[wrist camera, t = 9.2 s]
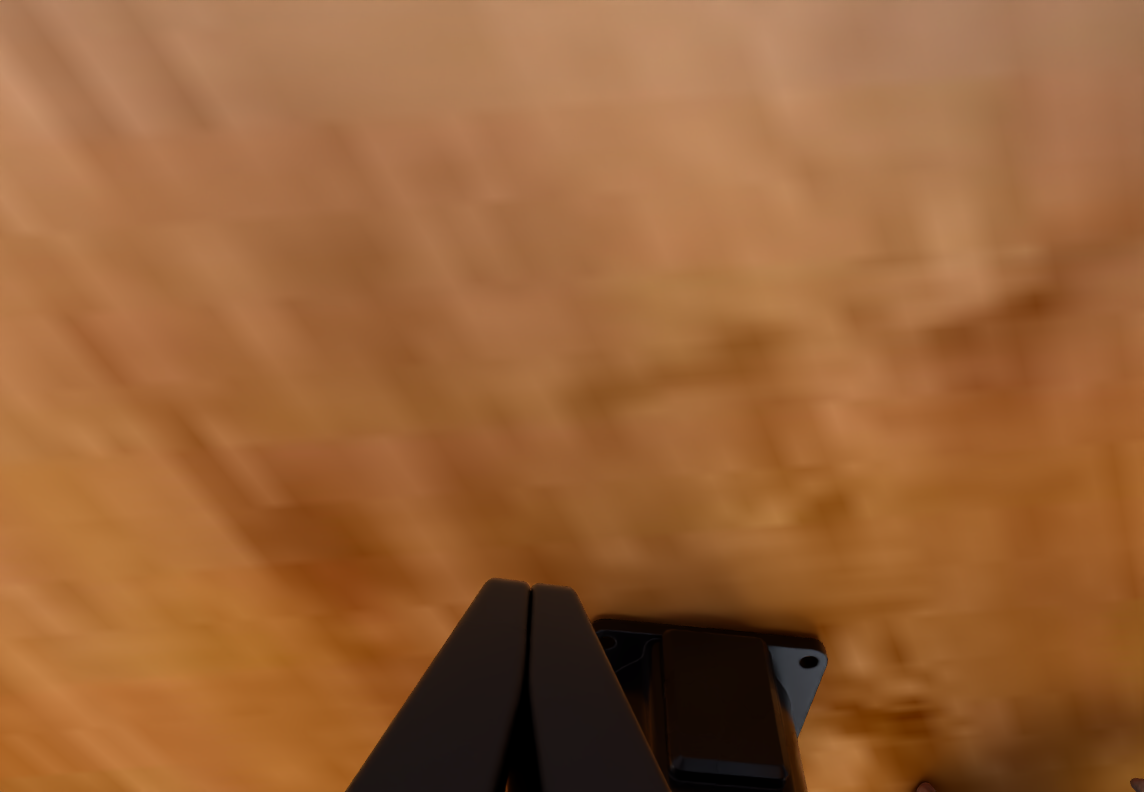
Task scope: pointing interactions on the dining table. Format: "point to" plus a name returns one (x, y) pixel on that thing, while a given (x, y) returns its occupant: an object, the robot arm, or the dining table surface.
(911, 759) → the dining table surface
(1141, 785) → the brown looped ring sculpture
